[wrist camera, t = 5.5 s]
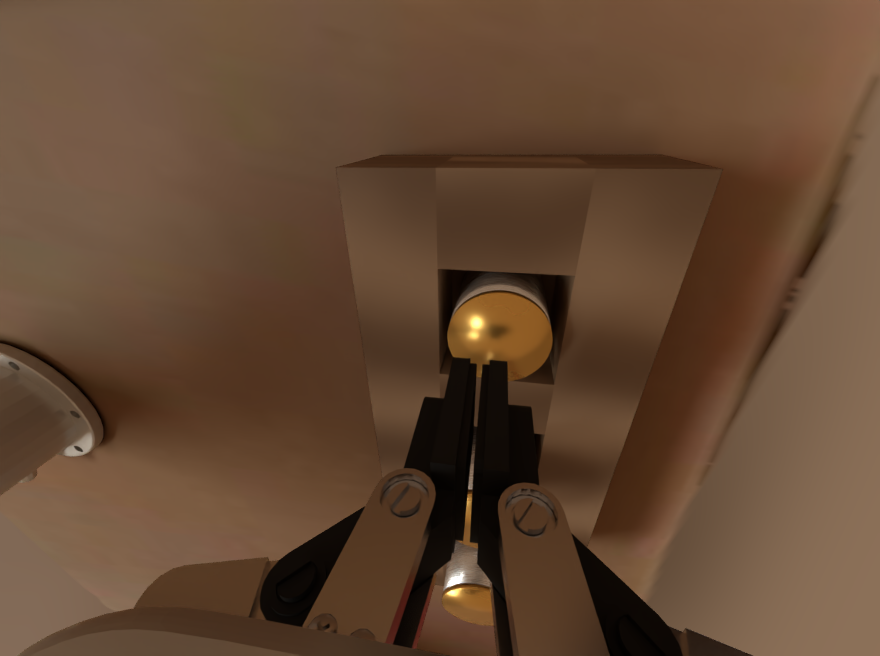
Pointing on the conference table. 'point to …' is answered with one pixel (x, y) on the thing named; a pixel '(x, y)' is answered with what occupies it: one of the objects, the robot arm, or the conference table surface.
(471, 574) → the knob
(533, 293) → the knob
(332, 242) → the conference table surface
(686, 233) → the knob console
